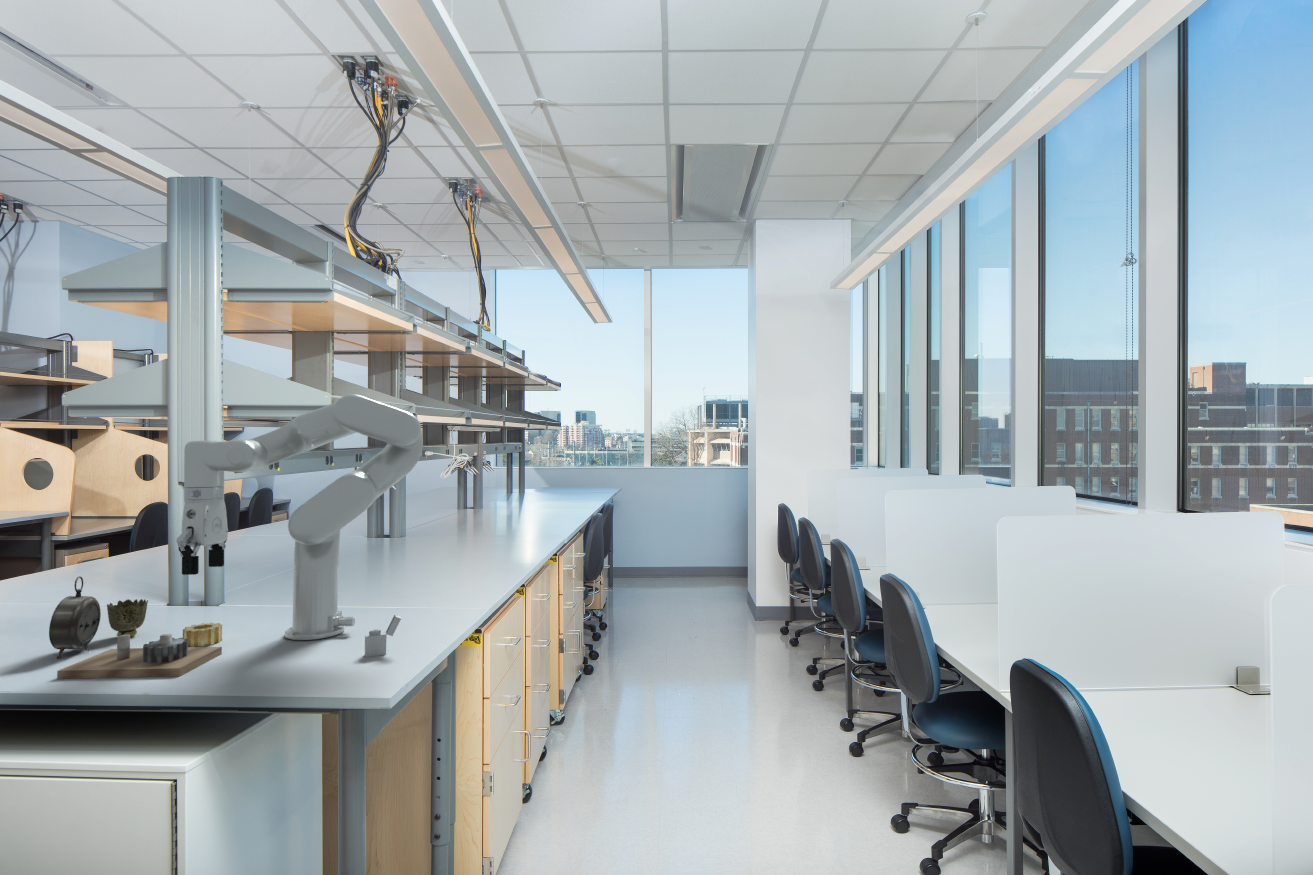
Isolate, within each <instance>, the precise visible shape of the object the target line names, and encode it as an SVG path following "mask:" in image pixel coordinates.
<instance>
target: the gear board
mask: <svg viewBox="0 0 1313 875" xmlns="http://www.w3.org/2000/svg"><path fill="white" fill-rule="evenodd" d="M116 642H117V644H116V645H117V647H116V648H110V649H108V650H106V651H103V652H100V653H97V654H95V655H92V656H90V657H88V658H85V659H83V660H81V661H78V662H76V663H73V664H71V665H67V666H65V667H63V668H61V669H59V670H58V669H57V671H56V673H57V674H56V679H59V680H64V679H100V678H101V679H103V678H104V679H106V678H107V679H108V678H144V677H145V678H147V677H148V678H149V677H150V678H154V677H158V678H159V677H182V676H183V675H185V674H188V672H190V671H192V670H195V669H196V668H198V667H200V666H201V665H203V664H206V663H208V662H209V661H211V660H213V659H215V658H216V657H219V656H220V655H222V653H223V652H222V651H223V647H222V646H202V647H201V646H196V647H191V646H188V639H183V637H178V638H175V637H173V634H172V633H163V634H161V635H159V639H158V640H155V641H153V640H152V641H149V642H148V643H144V644H143V646H142V647H140V648H138V647H136V648H135V647H134V648H132V647H131V637H130V635H120V636H117V640H116Z"/></svg>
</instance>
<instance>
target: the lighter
mask: <svg viewBox="0 0 1313 875" xmlns="http://www.w3.org/2000/svg"><path fill="white" fill-rule="evenodd" d="M401 620H402V616H400V615H397V614H394V615H393V617H392V618H391V621H390V623H389V625H388V626H387V629H386V630H385V632H382V630H381V628H377V629H371V630H369V631H368V634H364V657H365V658H368V657H376V656H377V657H378V656H383V655H385V656H386V655H387V635H388V636H391V637H393V636H394V634H395V632H396V630H397V628H398V626H399V624H400V621H401Z"/></svg>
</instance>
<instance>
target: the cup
mask: <svg viewBox="0 0 1313 875" xmlns="http://www.w3.org/2000/svg"><path fill="white" fill-rule="evenodd" d="M148 602H149V601H148V600H146V599H142V598H141V599H139V600H138V599H137V598H136V599H134V600H133V601H132V600H131V599H126V600H124V601H122V600H117V604H113V603H112V602H110V603H109V604H108V603H107V604H106V608H107V616H108V623H109V626H110V628H111V629H112V630H113V631H116V632H117V633H116V636H117V637H118V636H120V635H130V638H132V637H133V638H134V636H136V635H137V633H138V630H137V629H139V628H140V627H141V626H142V625H143V624H144V622H145V620H146V614H147V608H148Z"/></svg>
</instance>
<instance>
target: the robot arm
mask: <svg viewBox="0 0 1313 875" xmlns="http://www.w3.org/2000/svg"><path fill="white" fill-rule="evenodd" d="M355 433H358V434H361V435H363V436H366V437H369V438H372V439H375V440H378V441H381V442H384V443H386V445H385V446H384V448H383V449H382V450H381V451H379V452H378V453H377V454H375V455H373V456H372V457H371V458H370V459H368V460H367V461H366V462H365V463H363V464H362V465H361V466H359V467H358V468H356V469H354V471H352V472H351V471H350V472H349V473H346V474H343V475H341V476H340V477H338V478H337V479H335V480H334V481H332V482H330V484H329V485H327V486H326V487H324V488H322V490H320V491H319V492H318V493H316V494H315V495H313V496H312V497H311V498H310V499H308V500H307V501H305V502H303V503H302V504H300V506H298V507H297V508H296V509H294V510H293V511H292V513H291V515H290V516H289V519H288V522H287V528H288V529H287V530H288V533H289V535H290V537H291V538H292V539H293V540H294V542H295V543H294V553H293V554H294V555H293V578H292V579H293V586H292V588H293V590H292V591H293V592H292V626H291V627H290V628H287V629H286V630H284V637H285V638H286V639H288V640H292V641H293V640H294V641H311V640H320V639H321V640H322V639H327V638H330V637H333V636H337V635H339V634H342V633H343V632H344V631H345V627H354V626H355V623H356V619H355V618H354V617H353V616H343V614H342V610H338V609H339V608H338V604H339V603H338V601H339V596H338V595H339V563H340V557H339V556H340V538H341V530H342V529H343V528H344V527H346V526H347V525H349V524H350V523H351V522H352V521H353V520H355V519H356V518H357V517H359V516H360V515H362V514H363V513H365V511H367V510H368V509H369V508H370V507H371V506H373V504H374V502H375V501H376V500H377V499H379V498H380V497H381V496H382V495H383V494H384V493H386V492H387V491H388V490H390V489H391V488H392V487H393V486H395V484H397V483H398V482H400V481H401V480H402V479H404V477H406V476H407V475H408V474H409V473H410V472H411V471H412V470H413V469H414V468H415V466H416V465H417V463H418V462H419V459H420V458H421V455H422V452H423V446H424V437H423V431H422V426H421V422H420V421H419V419H418V418H417V416H415V415H414V414H412V412H411V413H410V412H409V411H406V410H404V409H400V408H397V407H394V406H391V405H388V404H385V403H383V402H379V401H376V400H373V399H371V398H368V397H366V396H363V395H360V394H358V393H357V394H356V393H351V394H350V393H349V394H346V395H343V396H341V397H340V398H338V400H337V401H336V402H332V403H330V404H328V405H325V406H322V407H319V408H317V409H314V410H311V411H308V412H305V413H302V414H300V415H297V416H295V417H294V418H292V419H291V420H290V421H289V422H288V423H286V424H285V425H283V426H281V427H278V428H277V429H274V430H272V431H269V432H267V433H264V434H260V435H258V436H256V437H252V438H249V439H233V440H226V441H219V440H218V441H217V440H191V441H187V443H186V444H185V445H184V449H183V450H184V451H183V452H184V454H183V455H184V459H183V460H184V461H183V462H184V463H183V465H184V467H183V468H184V469H183V478H184V479H183V483H184V484H183V485H184V486H183V503H184V505H183V511H182V518H181V533H180V535H179V536H178V537H177V538H176V543H177V546H178V551H179V553H180V557H181V574H182V576H187V575H199V572H200V570H199V568H200V566H199V564H200V563H199V559H200V558H199V555H197V554H198V552H199V550H200V548H201V546H202V547H210V549H208V567H209V568H217V567H218V568H221V567H224V566H225V549H226V546H227V545H226V542H227V540H228V535H229V534H228V533H229V528H228V515H227V507H226V502H225V472H228V473H229V472H232V473H247V472H255V471H258V470H260V469H263V468H266V467H268V466H271V465H273V464H276V463H279V462H281V461H284V460H286V459H288V458H291V457H292V458H293V457H294V456H296V455H299V454H302V453H307V452H310V451H312V450H314V449H317V448H319V447H322V446H324V445H327V444H329V443H332V442H334V441H337V440H340V439H343V438H345V437H348V436H350V435H353V434H355Z"/></svg>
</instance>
